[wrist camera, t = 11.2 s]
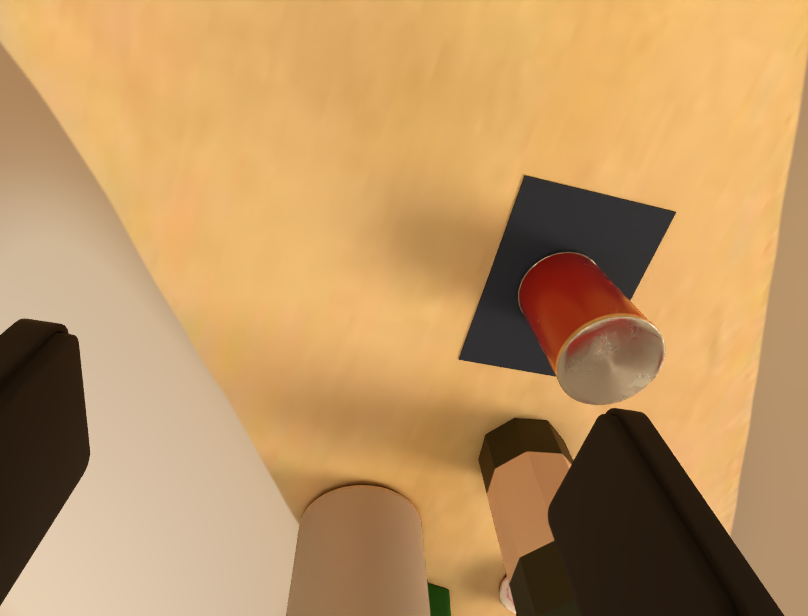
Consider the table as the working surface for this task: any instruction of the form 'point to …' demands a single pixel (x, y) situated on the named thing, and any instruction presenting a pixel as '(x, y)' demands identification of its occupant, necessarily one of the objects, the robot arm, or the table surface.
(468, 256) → the table surface
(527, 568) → the wine bottle
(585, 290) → the tin can
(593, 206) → the placemat
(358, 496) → the cylinder vase
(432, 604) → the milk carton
